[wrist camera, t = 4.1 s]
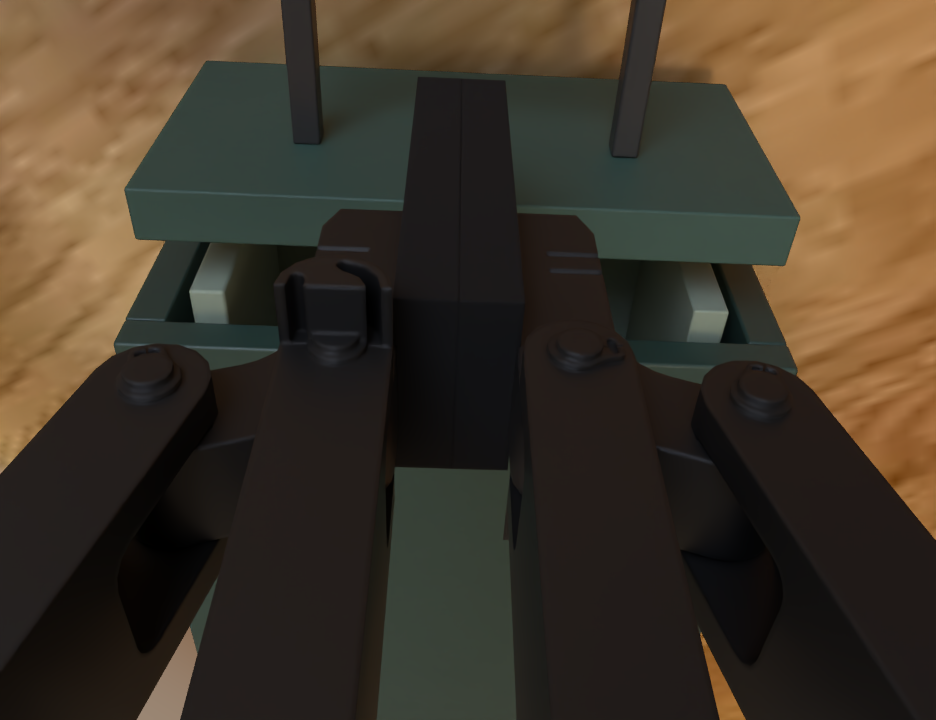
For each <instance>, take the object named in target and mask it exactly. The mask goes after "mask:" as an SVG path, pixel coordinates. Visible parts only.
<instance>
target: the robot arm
mask: <svg viewBox="0 0 936 720" xmlns="http://www.w3.org/2000/svg"><path fill="white" fill-rule="evenodd" d="M273 289H274V298H275V306H276V315H277V324H278V332H279V341H280V344H279V348H278V350H277V351H276V352H274V353H273V354H271V355H268V356H266V357H264V358H262V359H259V360H257V361H253V362H249V363H246V364H242V365H237V366H231V367H226V368H221V369H215V370H210V367H209V362H208V361H207V360H206V359H205V358H204V357H203V356H202V355H201V354H199V353H198V352H197V351H195V350H192V349H190V348H187V347H184V346H181V345H177V344H160V343H156V344H150V345H144V346H138V347H133V348H131V349H128V350H126V351H124V352H121V353H119V354H116V355H114V356H112V357H111V358H109V359H108V360H107V361H105V362H104V363H103V364H102V365H100V366H99V367H98V368H96V369H95V370H94V372H93V373H92V374H91V375H90V376H89V377H88V378H87V379H86V380H85V381H84V383H83V384H82V385H81V386H80V387H79V388H78V389H77V390H76V391H75V392H74V394H73V395H72V396H71V397H70V398H69V399H68V400H67V401H66V402H65V404H64V405H63V406H62V407H61V408H60V409H59V410H58V411H57V412H56V413H55V415H54V416H53V417H52V418H51V419H50V420H49V421H48V422H47V423H46V424H45V426H44V427H43V428H42V429H41V430H40V431H39V432H38V433H37V434H36V435H35V437H34V438H33V439H32V440H31V441H30V442H29V443H28V444H27V445H26V446H25V448H24V449H23V450H22V451H21V452H20V453H19V454H18V455H17V456H16V458H15V459H14V460H13V461H12V462H11V463H10V464H9V465H8V466H7V467H6V469H5V470H4V471H3V472H2V473H1V474H0V720H137V718H138V716H139V714H140V713H141V711H142V709H143V707H144V706H145V704H146V702H147V700H148V699H149V697H150V695H151V693H152V691H153V690H154V688H155V686H156V684H157V682H158V681H159V679H160V677H161V676H162V674H163V672H164V670H165V669H166V667H167V665H168V663H169V661H170V660H171V658H172V656H173V655H174V653H175V651H176V649H177V647H178V646H179V644H180V642H181V640H182V639H183V637H184V635H185V633H186V631H187V630H188V628H189V626H190V625H191V623H192V621H193V619H194V618H195V616H196V614H197V612H198V611H199V609H200V607H201V605H202V603H203V602H204V600H205V598H206V596H207V595H208V593H209V591H210V589H211V588H212V586H213V584H214V582H215V581H216V579H217V577H218V579H217V583H216V586H215V590H214V594H213V598H212V601H211V605H210V609H209V613H208V617H207V620H206V624H205V628H204V632H203V636H202V639H201V643H200V647H199V651H198V654H197V658H196V662H195V666H194V670H193V673H192V677H191V681H190V685H189V689H188V692H187V696H186V700H185V704H184V708H183V711H182V715H181V719H180V720H377V711H378V698H379V686H380V674H381V661H382V649H383V637H384V624H385V612H386V600H387V587H388V575H389V563H390V550H391V538H392V525H393V513H394V501H395V483H394V470H395V467H408V468H441V469H474V470H508V462H509V460H510V478H509V488H508V497H507V506H506V516H505V525H504V534H503V540H509V557H510V580H511V603H512V626H513V650H514V673H515V696H516V719H517V720H720V719H719V715H718V711H717V706H716V702H715V698H714V694H713V689H712V685H711V681H710V676H709V672H708V668H707V663H706V659H705V655H704V651H703V646H702V642H701V638H700V633H699V629H698V626H699V628H700V630H701V632H702V634H703V636H704V638H705V640H706V642H707V644H708V646H709V648H710V650H711V652H712V654H713V656H714V658H715V660H716V662H717V664H718V666H719V668H720V670H721V672H722V674H723V675H724V677H725V679H726V681H727V683H728V685H729V687H730V689H731V691H732V693H733V695H734V697H735V699H736V701H737V703H738V705H739V707H740V709H741V711H742V713H743V715H744V717H745V719H746V720H936V540H935V539H934V538H933V537H932V535H931V534H930V533H929V532H928V531H927V529H926V528H925V527H924V526H923V524H922V523H921V522H920V521H919V520H918V518H917V517H916V516H915V515H914V513H913V512H912V511H911V510H910V509H909V507H908V506H907V505H906V504H905V502H904V501H903V500H902V499H901V498H900V496H899V495H898V494H897V493H896V491H895V490H894V489H893V488H892V487H891V485H890V484H889V483H888V482H887V480H886V479H885V478H884V477H883V476H882V474H881V473H880V472H879V471H878V469H877V468H876V467H875V466H874V465H873V463H872V462H871V461H870V460H869V458H868V457H867V456H866V455H865V454H864V452H863V451H862V450H861V449H860V447H859V446H858V445H857V444H856V443H855V441H854V440H853V439H852V438H851V436H850V435H849V434H848V433H847V432H846V430H845V429H844V428H843V427H842V425H841V424H840V423H839V422H838V421H837V419H836V418H835V417H834V416H833V414H832V413H831V412H830V411H829V410H828V408H827V407H826V406H825V405H824V403H823V402H822V401H821V400H820V399H819V397H818V396H817V395H816V394H815V392H814V391H813V390H812V389H811V388H810V387H809V386H807V385H806V384H805V383H804V382H803V381H802V380H801V379H800V378H798V377H797V376H795V375H793V374H791V373H789V372H787V371H785V370H783V369H781V368H779V367H777V366H774V365H770V364H766V363H762V362H758V361H736V360H733V361H730V362H726V363H723V364H719V365H716V366H714V367H713V368H712V369H711V370H710V371H709V372H708V373H706V374H705V375H704V377H703V381H702V384H698V383H694V382H690V381H686V380H682V379H678V378H674V377H671V376H668V375H665V374H662V373H659V372H656V371H653V370H651V369H649V368H647V367H645V366H644V365H642V364H640V363H638V362H637V361H636V358H635V354H634V352H633V350H632V349H631V347H630V345H629V343H628V341H627V340H625V339H624V338H623V337H622V336H620V335H619V334H618V333H617V332H615V329H614V324H613V319H612V315H611V310H610V306H609V301H608V296H607V292H606V287H605V283H604V278H603V275H602V269H601V264H600V259H599V258H598V250H597V246H596V241H595V236H594V233H593V232H592V231H591V230H590V229H589V228H588V227H587V226H586V225H585V224H584V223H583V222H582V221H581V220H580V219H579V218H578V217H577V216H576V215H556V214H530V213H517V205H516V194H515V183H514V171H513V160H512V149H511V138H510V126H509V115H508V104H507V93H506V81H505V80H486V79H462V78H439V77H418V80H417V89H416V98H415V107H414V116H413V124H412V133H411V142H410V151H409V160H408V168H407V177H406V186H405V195H404V204H403V211H388V210H362V209H340V210H339V211H338V212H337V213H336V214H335V215H334V216H332V217H331V218H330V219H329V220H328V221H327V222H326V223H325V224H324V225H323V226H322V229H321V233H320V237H319V242H318V246H317V250H316V254H315V257H313V258H309V259H306V260H303V261H299V262H296V263H295V264H293V265H292V266H290V267H288V268H287V269H285V270H284V271H282V272H281V273H280V275H279V276H278V278H277V279H276V281H275V282H274V284H273ZM697 624H698V625H697Z"/></svg>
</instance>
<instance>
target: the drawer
mask: <svg viewBox="0 0 936 720" xmlns="http://www.w3.org/2000/svg"><path fill="white" fill-rule="evenodd" d="M665 5H666V0H632V1H631V7H630V13H629V20H628V26H627V32H626V39H625V45H624V51H623V58H622V64H621V70H620V77H619V80H617V79H596V78H574V77H552V76H530V75H508V74H486V73H465V72H443V71H421V70H399V69H377V68H356V67H334V66H319V51H318V36H317V20H316V5H315V0H281V8H282V20H283V31H284V42H285V54H286V64H268V63H246V62H225V61H206V62H205V63H204V65H203V66H202V68H201V70H200V71H199V73H198V74H197V76H196V77H195V79H194V81H193V82H192V84H191V85H190V87H189V88H188V90H187V92H186V93H185V95H184V96H183V98H182V99H181V101H180V102H179V104H178V106H177V107H176V109H175V110H174V112H173V113H172V115H171V117H170V118H169V120H168V121H167V123H166V124H165V126H164V128H163V129H162V131H161V132H160V134H159V135H158V137H157V139H156V140H155V142H154V143H153V145H152V146H151V148H150V150H149V151H148V153H147V154H146V156H145V157H144V159H143V160H142V162H141V164H140V165H139V167H138V168H137V170H136V171H135V173H134V175H133V176H132V178H131V179H130V181H129V182H128V184H127V186H126V187H125V195H126V199H127V203H128V208H129V212H130V216H131V221H132V225H133V230H134V234H135V238H136V239H138V240H162V241H187V242H211V243H210V245H209V247H208V249H207V252H206V254H205V256H204V259H203V261H202V263H201V265H200V268H199V270H198V272H197V275H196V277H195V279H194V281H193V284H192V286H191V288H190V291H189V293H190V299H191V304H192V309H193V314H194V319H195V323H214V324H240V325H266V326H278V324H277V315H276V306H275V298H274V289H273V284H274V282H275V281H276V279H277V278H278V276H279V275H280V273H281V272H282V271H284V270H285V269H287V268H288V267H290V266H292V265H293V264H295V263H296V262H299V261H303V260H306V259H309V258H313V257H315V254H316V250H317V246H318V242H319V237H320V233H321V229H322V226H323V225H324V224H325V223H326V222H327V221H328V220H329V219H330V218H331V217H332V216H334V215H335V214H336V213H337V212H338V211H339V210H340V209H362V210H388V211H403V204H404V195H405V186H406V177H407V168H408V160H409V151H410V142H411V133H412V124H413V116H414V107H415V98H416V89H417V80H418V77H439V78H462V79H486V80H505V81H506V93H507V104H508V115H509V126H510V138H511V149H512V160H513V171H514V183H515V194H516V205H517V213H530V214H556V215H576V216H577V217H578V218H579V219H580V220H581V221H582V222H583V223H584V224H585V225H586V226H587V227H588V228H589V229H590V230H591V231H592V232H593V233H594V236H595V241H596V246H597V250H598V258H599V259H600V264H601V269H602V275H603V278H604V283H605V287H606V292H607V296H608V301H609V306H610V310H611V315H612V319H613V324H614V329H615V332H617V333H618V334H619V335H620V336H622V337H623V338H624V339H626V340H652V341H677V342H703V343H720V341H721V338H722V334H723V331H724V327H725V324H726V320H727V317H728V313H729V312H728V309H727V306H726V304H725V301H724V299H723V296H722V293H721V291H720V288H719V285H718V283H717V280H716V277H715V275H714V272H713V269H712V267H711V264H710V263H723V264H747V265H772V266H784V265H785V264H786V261H787V258H788V255H789V252H790V249H791V246H792V243H793V240H794V237H795V234H796V230H797V227H798V224H799V221H800V216H799V214H798V212H797V210H796V209H795V207H794V205H793V203H792V202H791V200H790V198H789V196H788V194H787V193H786V191H785V189H784V187H783V186H782V184H781V182H780V180H779V178H778V177H777V175H776V173H775V171H774V170H773V168H772V166H771V164H770V162H769V161H768V159H767V157H766V155H765V154H764V152H763V150H762V148H761V146H760V145H759V143H758V141H757V139H756V138H755V136H754V134H753V132H752V130H751V129H750V127H749V125H748V123H747V122H746V120H745V118H744V116H743V114H742V113H741V111H740V109H739V107H738V106H737V104H736V102H735V100H734V98H733V97H732V95H731V93H730V91H729V90H728V88H727V86H726V85H725V84H705V83H683V82H661V81H652V76H653V71H654V65H655V60H656V54H657V49H658V43H659V38H660V32H661V27H662V21H663V16H664V10H665Z"/></svg>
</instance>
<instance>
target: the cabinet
mask: <svg viewBox="0 0 936 720" xmlns="http://www.w3.org/2000/svg"><path fill="white" fill-rule="evenodd" d="M210 243H211V242H187V241H165V243H164V245H163V247H162V249H161V251H160V253H159V255H158V257H157V259H156V261H155V263H154V265H153V267H152V269H151V270H150V272H149V274H148V276H147V278H146V280H145V282H144V284H143V286H142V288H141V290H140V292H139V294H138V296H137V298H136V300H135V302H134V304H133V305H132V307H131V309H130V311H129V313H128V315H127V317H126V321H125V322H124V324H123V326H122V328H121V330H120V332H119V334H118V336H117V338H116V340H115V342H114V348H115V352H116V354H119V353H121V352H124V351H126V350H128V349H131V348H133V347H138V346H144V345H150V344H156V343H160V344H177V345H181V346H184V347H187V348H190V349H192V350H195V351H197V352H198V353H199V354H201V355H202V356H203V357H204V358H205V359H206V360H207V361H208V362H209V367H210V370H215V369H221V368H226V367H231V366H237V365H242V364H246V363H249V362H253V361H257V360H259V359H262V358H264V357H266V356H268V355H271V354H273V353H274V352H276V351H277V350H278V348H279V344H280V341H279V332H278V326H266V325H240V324H214V323H195V319H194V314H193V309H192V304H191V299H190V293H189V291H190V288H191V286H192V284H193V281H194V279H195V277H196V275H197V272H198V270H199V268H200V265H201V263H202V261H203V259H204V256H205V254H206V252H207V249H208V247H209V245H210ZM710 264H711V267H712V269H713V272H714V275H715V277H716V280H717V283H718V285H719V288H720V291H721V293H722V296H723V299H724V301H725V304H726V306H727V309H728V312H729V313H728V317H727V320H726V324H725V327H724V331H723V334H722V338H721V341H720V343H703V342H677V341H652V340H627V341H628V343H629V345H630V347H631V349H632V350H633V352H634V354H635V358H636V361H637V362H638V363H640V364H642V365H644V366H645V367H647V368H649V369H651V370H653V371H656V372H659V373H662V374H665V375H668V376H671V377H674V378H678V379H682V380H686V381H690V382H694V383H698V384H702V381H703V377H704V375H705V374H706V373H708V372H709V371H710V370H711V369H712V368H713V367H714V366H716V365H719V364H723V363H726V362H730V361H733V360H736V361H758V362H762V363H766V364H770V365H774V366H777V367H779V368H781V369H783V370H785V371H787V372H789V373H791V374H793V375H795V376H796V374H797V371H798V370H797V367H796V364H795V362H794V360H793V358H792V355H791V353H790V351H789V349H788V347H787V346H786V342H785V339H784V337H783V335H782V333H781V330H780V328H779V326H778V324H777V321H776V319H775V317H774V314H773V312H772V310H771V308H770V305H769V303H768V301H767V299H766V296H765V294H764V292H763V290H762V287H761V285H760V283H759V281H758V278H757V276H756V274H755V271H754V269H753V267H752V265H747V264H723V263H710ZM625 340H626V339H625ZM509 478H510V460H509V462H508V470H474V469H441V468H408V467H395V470H394V483H395V501H394V513H393V525H392V538H391V550H390V563H389V575H388V587H387V600H386V612H385V624H384V637H383V649H382V661H381V674H380V686H379V698H378V711H377V720H517V719H516V696H515V673H514V650H513V626H512V603H511V580H510V557H509V540H503V534H504V525H505V516H506V506H507V497H508V488H509ZM217 579H218V577H217ZM217 579H216V581H215V582H214V584H213V586H212V588H211V589H210V591H209V593H208V595H207V596H206V598H205V600H204V602H203V603H202V605H201V607H200V609H199V611H198V612H197V614H196V616H195V618H194V619H193V621H192V623H191V625H190V628H191V632H192V635H193V639H194V643H195V646H196V650H197V653H198V651H199V647H200V643H201V639H202V636H203V632H204V628H205V624H206V620H207V617H208V613H209V609H210V605H211V601H212V598H213V594H214V590H215V586H216V583H217ZM697 625H698V624H697ZM698 629H699V633H701V630H700V628H699V626H698Z"/></svg>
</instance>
